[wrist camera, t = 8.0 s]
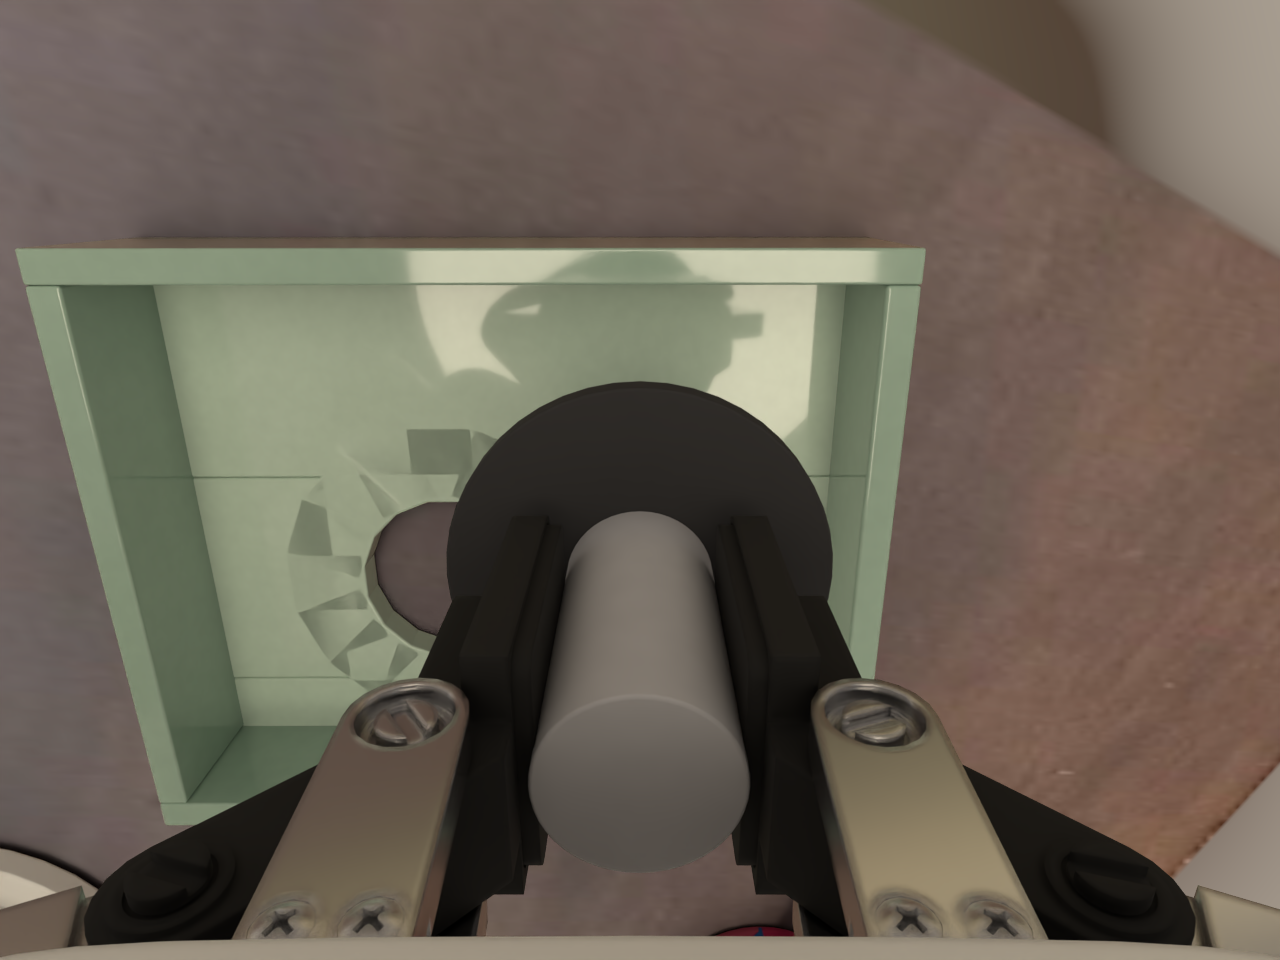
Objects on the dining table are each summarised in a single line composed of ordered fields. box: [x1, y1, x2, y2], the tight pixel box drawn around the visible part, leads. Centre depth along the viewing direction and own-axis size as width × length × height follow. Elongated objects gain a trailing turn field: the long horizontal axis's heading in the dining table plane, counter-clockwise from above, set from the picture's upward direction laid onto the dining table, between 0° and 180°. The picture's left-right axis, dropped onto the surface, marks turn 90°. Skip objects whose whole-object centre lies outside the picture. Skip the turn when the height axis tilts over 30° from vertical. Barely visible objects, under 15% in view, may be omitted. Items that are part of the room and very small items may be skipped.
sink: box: [15, 237, 926, 825], centre depth 22 cm, size 16×20×4 cm
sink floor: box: [132, 237, 874, 726], centre depth 24 cm, size 16×20×1 cm
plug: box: [447, 381, 833, 873], centre depth 11 cm, size 6×6×6 cm
